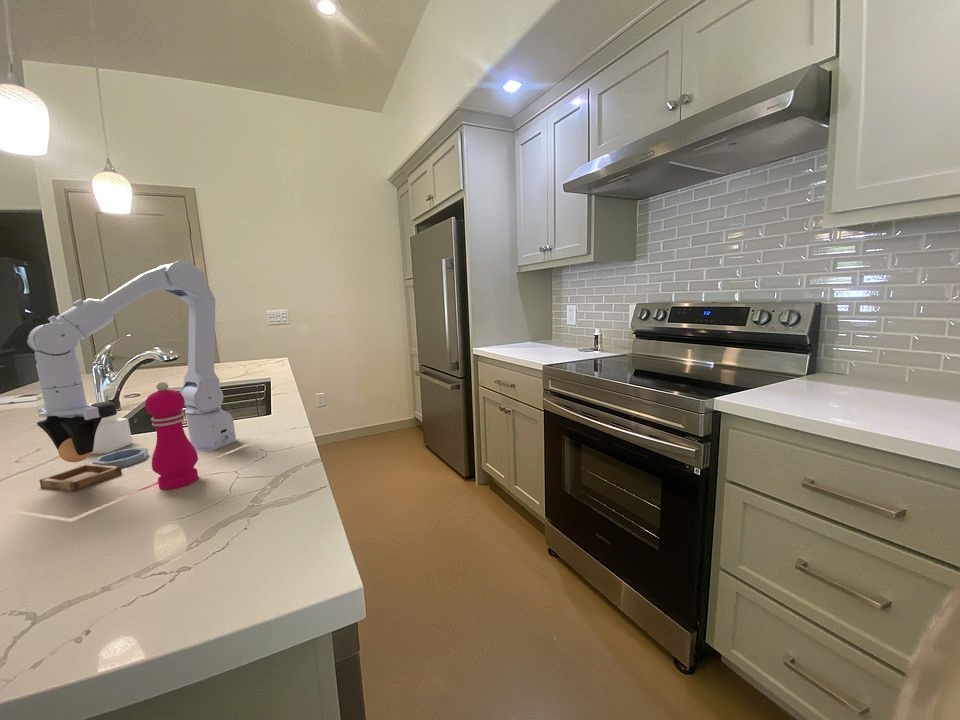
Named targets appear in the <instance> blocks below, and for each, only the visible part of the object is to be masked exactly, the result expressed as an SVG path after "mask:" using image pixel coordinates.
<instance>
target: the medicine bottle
mask: <svg viewBox="0 0 960 720" xmlns="http://www.w3.org/2000/svg"><path fill="white" fill-rule="evenodd" d="M88 405H90V406H92V407H97V408H98V411H99V416H101V418H102V420H101V421H100V423H99V425H98V427H97V430H96V434H95V439H94V447H93V452H92V453H91V455H93V454H94V455H95V454H96V455H97V454H104V455H106V454H109V453H112V452H115V451H117V450H118V449H121V448H124V447H126V446H129V445H132V444H133V437H132V433H131V428H130V422H129V419H128V418H126V417H125V418H122V417H121V418H118V412H117V407H116V403H115V402H112V401H101V402H93V403H89V404H88Z"/></svg>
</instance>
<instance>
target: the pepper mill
mask: <svg viewBox="0 0 960 720" xmlns="http://www.w3.org/2000/svg"><path fill="white" fill-rule="evenodd" d="M156 390H157V391H154V392H152V393H151V394H149V395H148V397H147V398H146V399H145V404H144V407H145V411H146V412H147V413H148V414H149V415H150V416H152V417H151V418H150V421H151V426H152V427H154V428H155V431H156V443H155V447H154V450H153V453H152V457H151V468H152V471H153V472H154V473H156V474H157V475H159V476H158V478H157V483H158V488H159V489H161V490H173V489H179V488H182V487H185V486H188V485H190V484H192V483H193V484H194V482H196V481H197V480H198V479H199V474H198V468H196V467H195V465H196V464H197V463H198V460H199V456H198V452H197V450H195V448H194V446H193V445H192V444H191V443H190V439H189V438H188V437H187V435H186V433H185V430H184V426H183V423H184V422H183V421H185V417H184V415H185V414H184V413H183V412H182V410H183V409H184V407H185V400H184V397H183V396H182V394H180V393H179V392H180V391H177V390H174V389H169V385H168V382H165V381H161V382H158V383H157V384H156Z"/></svg>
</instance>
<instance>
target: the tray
mask: <svg viewBox="0 0 960 720" xmlns="http://www.w3.org/2000/svg"><path fill="white" fill-rule="evenodd" d="M122 474H123V472H122V467H117V466H107V465H98V464H92V463H86V464H83V465H80V466H77V467H74V468H70V469H68V470H67V469H66V470H64V471H62V472H58V473H56V474H52V475H50V476H46V477H44V478H41V479H39V485H40V488H43V489H44V488H45V489H50V490H59V491H67V492H74V493H75V492H76V493H77V492H78V491H80V490H83V489H86V488H89V487H92V486H93V485H96V484H99V483H103V482H104V481H107V480H110V479H113V478H115V477H118V476H120V475H122Z"/></svg>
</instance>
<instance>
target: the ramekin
mask: <svg viewBox="0 0 960 720" xmlns="http://www.w3.org/2000/svg"><path fill="white" fill-rule="evenodd" d="M148 456H149V450H148V448H144V447H132V448H126V449H122V450H121V449H120V450H114V451H111V452H109V453H105V454H104V455H100V456H98V457H96V458H95V459H94V460H93V461H92V462H91V464H98V465H107V466H117V467H121V468H125V467H129V466H132V465H135V464H137V463H141V462H143V461H145V460H146V459H147V457H148Z"/></svg>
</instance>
